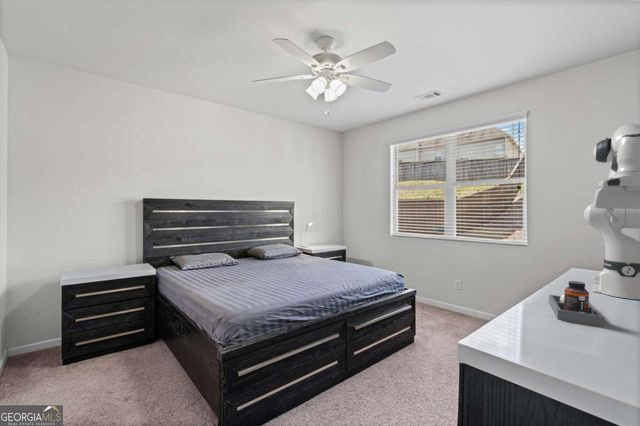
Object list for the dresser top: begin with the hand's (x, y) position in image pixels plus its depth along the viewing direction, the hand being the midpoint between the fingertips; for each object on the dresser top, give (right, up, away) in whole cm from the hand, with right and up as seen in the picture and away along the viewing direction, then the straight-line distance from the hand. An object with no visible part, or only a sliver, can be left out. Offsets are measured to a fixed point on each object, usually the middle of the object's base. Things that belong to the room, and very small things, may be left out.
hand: (633, 222), depth 101 cm
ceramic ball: (-19, -30, +3) cm, 36 cm away
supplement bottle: (-24, -30, -5) cm, 39 cm away
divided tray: (-21, -31, -1) cm, 37 cm away
